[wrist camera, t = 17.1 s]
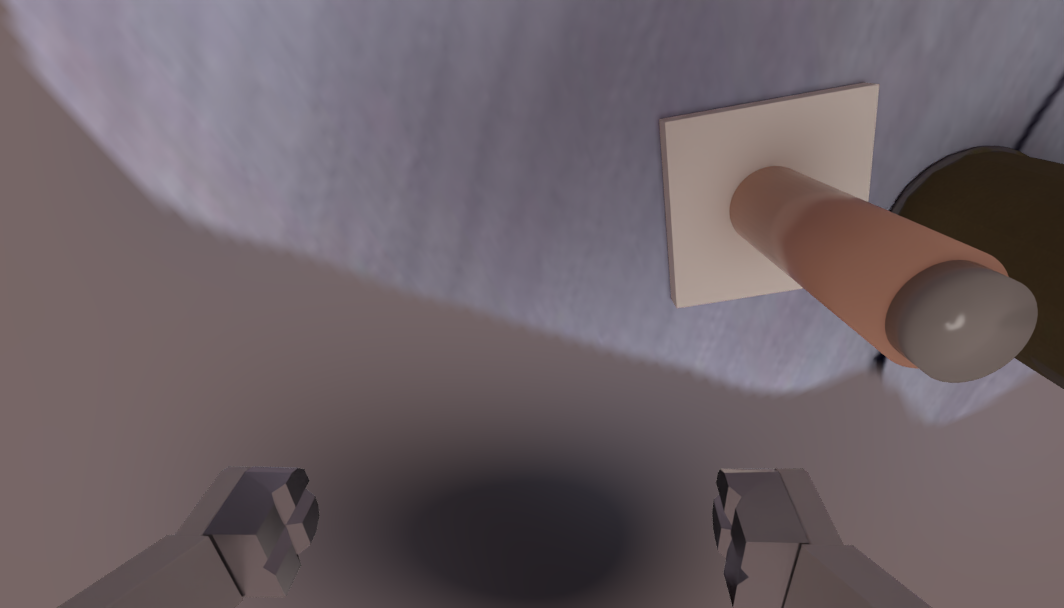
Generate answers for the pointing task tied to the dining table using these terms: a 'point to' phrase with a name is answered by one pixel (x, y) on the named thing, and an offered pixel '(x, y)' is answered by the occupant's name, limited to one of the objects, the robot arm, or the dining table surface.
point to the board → (733, 154)
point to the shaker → (888, 275)
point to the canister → (1004, 229)
